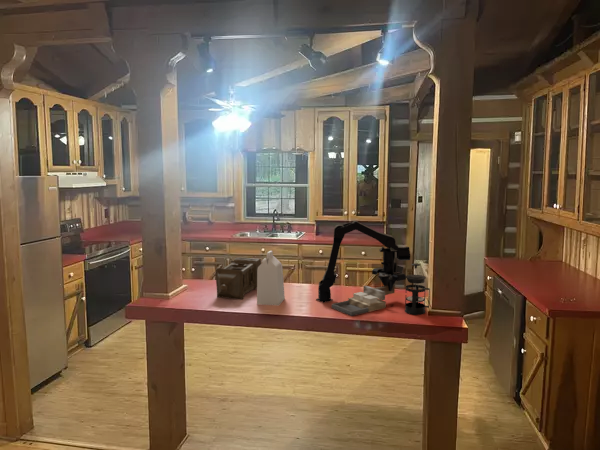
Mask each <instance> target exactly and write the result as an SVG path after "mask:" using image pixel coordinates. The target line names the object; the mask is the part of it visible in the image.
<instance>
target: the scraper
mask: <svg viewBox="0 0 600 450" xmlns="http://www.w3.org/2000/svg"><path fill="white" fill-rule="evenodd" d="M395 289H396V287H395V284H394V285H393V288H392V291H389V287H388V285H386V286H384V285H382V286H377V287H371V286H369V285H363V290H362V291H363V293H366V294H368V295H372V296H375V297H378V299H379V300H382V301H385V300H386V296H388V295H391V294H395V291H396V290H395Z"/></svg>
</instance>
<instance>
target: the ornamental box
mask: <svg viewBox="0 0 600 450" xmlns="http://www.w3.org/2000/svg"><path fill="white" fill-rule="evenodd" d="M261 261H262V259H261V258H253V257H252V258H251V257H235V258H234V259H233V260H231V261H230V264H227V265H226V266H225V267H223V268H218V267H217V268H215V282H216V298H223V299H224V298H225V299H235V300H244V297H245V294H248V293H249V292H251V291H252V290H257V269H258V267H259V266H260V264H261V263H262V262H261Z"/></svg>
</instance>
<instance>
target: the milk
mask: <svg viewBox="0 0 600 450" xmlns="http://www.w3.org/2000/svg"><path fill="white" fill-rule="evenodd" d="M283 271H284V270H283V263H282V262H281V261H280V260H279V259H278V258H277V257H276V256H274V251H273V250H269V251H267V252H266V257H264V258H263V259H261V264H260V266H259V267H258V269H257V288H256V305H259V306H280V305H281V304H282V302H283V301H284V300H285V297H286V296H285V283H284V272H283Z"/></svg>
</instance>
